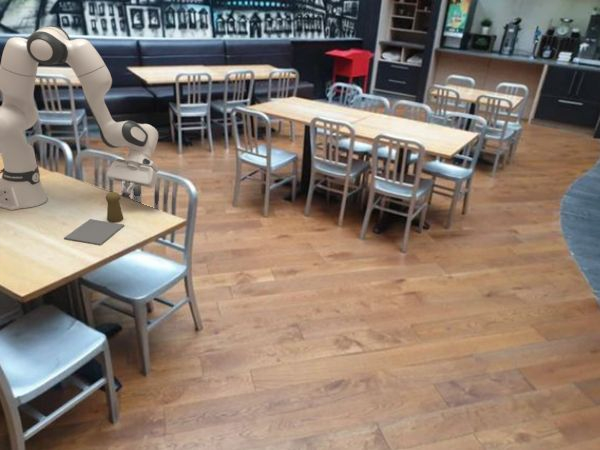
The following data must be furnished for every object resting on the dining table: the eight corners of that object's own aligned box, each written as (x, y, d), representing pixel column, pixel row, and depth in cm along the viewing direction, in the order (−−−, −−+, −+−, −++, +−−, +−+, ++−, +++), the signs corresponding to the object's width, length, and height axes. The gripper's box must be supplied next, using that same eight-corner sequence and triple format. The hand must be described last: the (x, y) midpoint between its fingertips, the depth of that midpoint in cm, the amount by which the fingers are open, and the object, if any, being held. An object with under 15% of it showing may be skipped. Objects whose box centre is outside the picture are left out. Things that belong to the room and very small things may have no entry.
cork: (118, 223, 175) (115, 197, 170) (103, 221, 176) (100, 195, 171) (126, 217, 181) (124, 191, 176) (112, 214, 182) (109, 189, 177)
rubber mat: (64, 239, 162) (63, 237, 161) (90, 220, 176) (90, 218, 176) (100, 245, 160) (100, 244, 160) (124, 225, 174) (124, 224, 174)
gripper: (110, 154, 185) (98, 184, 181) (156, 162, 181) (144, 193, 177) (118, 161, 191) (106, 191, 187) (162, 169, 187) (151, 200, 183)
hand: (125, 192), depth 182 cm, fingers closed
